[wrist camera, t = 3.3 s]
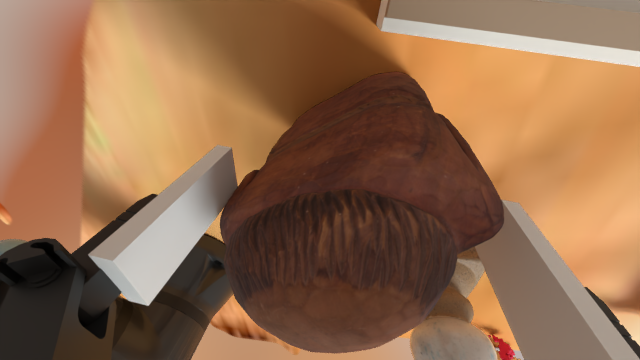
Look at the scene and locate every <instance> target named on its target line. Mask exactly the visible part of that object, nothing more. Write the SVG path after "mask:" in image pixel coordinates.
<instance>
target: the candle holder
mask: <svg viewBox="0 0 640 360" xmlns="http://www.w3.org/2000/svg"><path fill="white" fill-rule="evenodd" d="M484 271H485V269H484V267H483V264H482V262H481V260H480V258H479V255H478V253H477V251H476V249H475V246H474V247H472V248H470V249H468V250H466V251H464V252H462V253H460V254H458V255H457V263H456V269H455V272H454V274H453V277H452V278H451V280H450V283H449V284H448V286H447V288H446V289H445V290H444V292H443V294H442V295H441V297H440V299H439V300H438V302H437V303H436V305H435V307H434V308H433V309H432V311H431V312H430V313H429V315H428V316H427V317H426V318H425V320H424V321H423V322H422V323H421V324H420V325H418V326H417V327H415V328H414V329H413V331H412V333H411V336H410V348H411V352H412V355H413V358H414V360H498V358H497V353H496V350H495V348H494V345H493V343H492V342H491V340H490V339H489V337H488V336H487V335H486V334H485V333H484V332H483V331H482V330H480V329H479V328H478V327H476V326H475V325H473V324H471V321H472V319H473V315H474V312H473V307H472V305H471V303H470V302H469V300H468V299H467V297H468V296H469V294H470V293H471V291H472V290H473V289H474V287H475V286H476V284H477V283H478V281H479V280H480V278H481V276H482V275H483V273H484Z"/></svg>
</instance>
